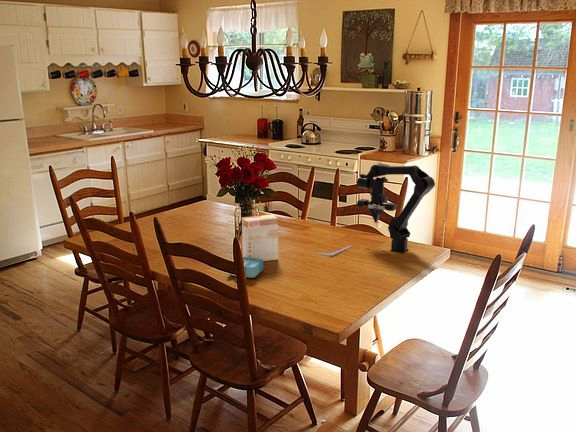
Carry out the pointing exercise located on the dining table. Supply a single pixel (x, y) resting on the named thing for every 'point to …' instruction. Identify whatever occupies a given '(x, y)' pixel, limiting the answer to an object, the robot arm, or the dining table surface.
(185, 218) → the dining table surface
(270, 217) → the coffeecake box
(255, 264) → the data package
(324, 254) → the grey boomerang
